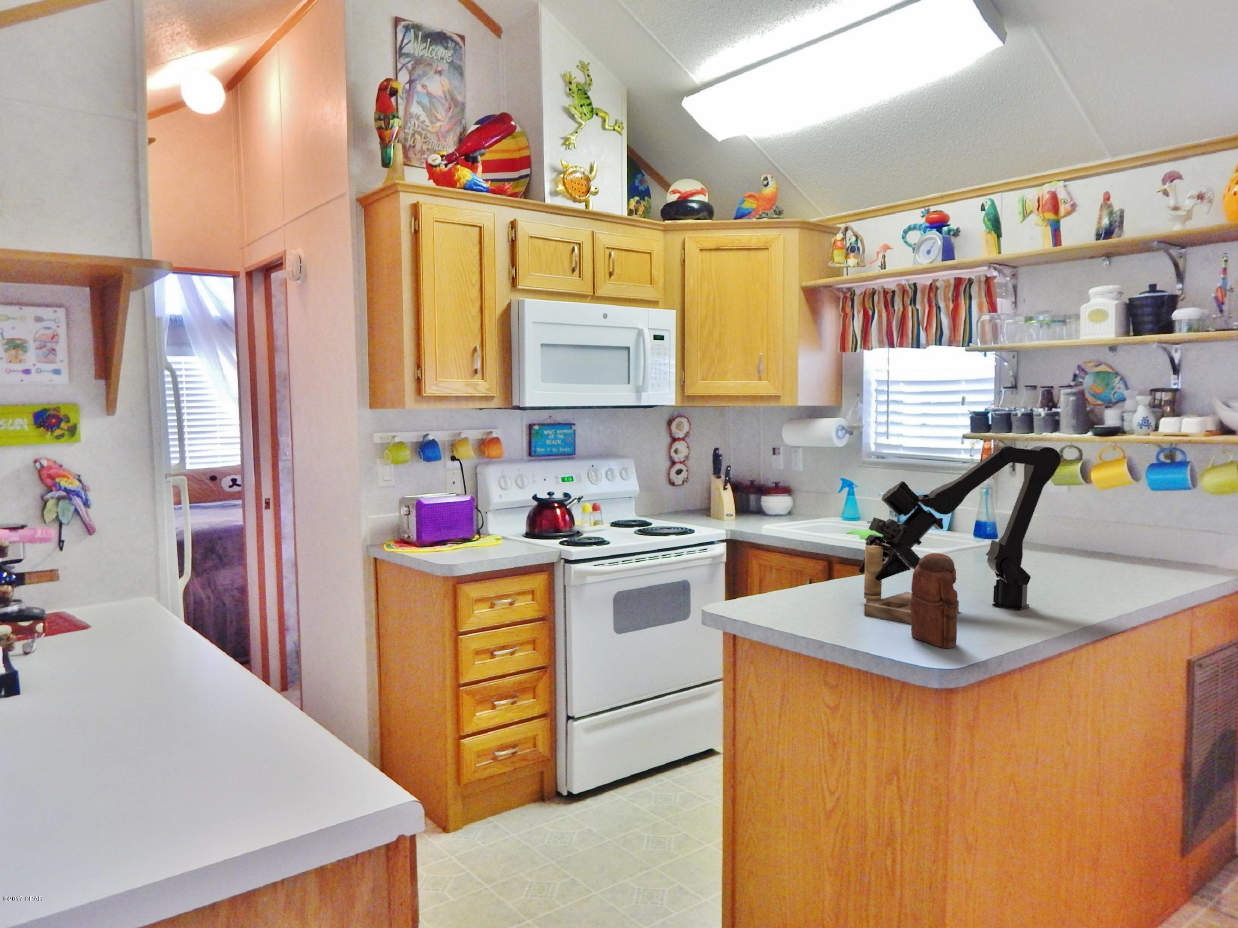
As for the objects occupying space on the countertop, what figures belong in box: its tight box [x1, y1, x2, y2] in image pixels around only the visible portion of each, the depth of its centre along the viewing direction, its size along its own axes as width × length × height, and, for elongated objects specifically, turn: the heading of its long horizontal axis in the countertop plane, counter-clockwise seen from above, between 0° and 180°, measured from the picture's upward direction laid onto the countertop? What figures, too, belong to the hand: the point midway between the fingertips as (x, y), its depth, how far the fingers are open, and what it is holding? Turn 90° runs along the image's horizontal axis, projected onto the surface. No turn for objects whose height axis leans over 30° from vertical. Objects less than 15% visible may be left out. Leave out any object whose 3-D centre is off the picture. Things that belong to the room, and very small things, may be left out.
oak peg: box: [863, 545, 883, 604], centre depth 208 cm, size 4×4×14 cm
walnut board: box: [863, 591, 960, 625], centre depth 200 cm, size 13×20×2 cm, turn 134°
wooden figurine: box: [910, 552, 958, 649], centre depth 174 cm, size 12×6×18 cm, turn 21°
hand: (867, 575), depth 207 cm, fingers open, 9 cm apart
